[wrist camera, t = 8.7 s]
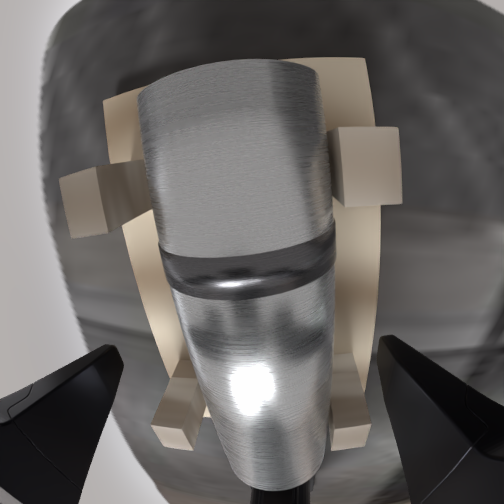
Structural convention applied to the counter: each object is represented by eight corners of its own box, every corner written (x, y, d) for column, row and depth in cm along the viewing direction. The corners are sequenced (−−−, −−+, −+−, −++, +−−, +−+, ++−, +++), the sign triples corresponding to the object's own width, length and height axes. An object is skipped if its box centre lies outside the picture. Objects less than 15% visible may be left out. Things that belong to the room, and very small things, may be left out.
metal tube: (310, 408, 15) (338, 476, 10) (224, 425, 14) (233, 499, 10) (291, 99, 10) (354, 60, 5) (153, 116, 9) (108, 83, 4)
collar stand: (358, 399, 17) (372, 471, 11) (189, 405, 19) (167, 471, 13) (358, 64, 10) (409, 13, 5) (113, 102, 12) (30, 91, 6)
